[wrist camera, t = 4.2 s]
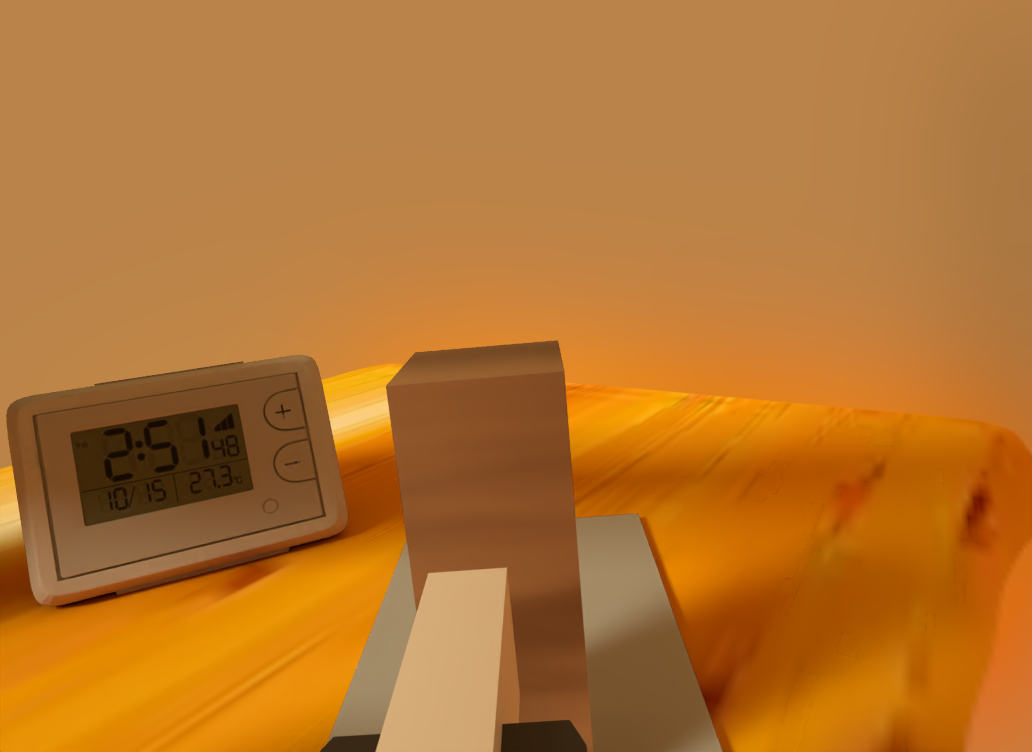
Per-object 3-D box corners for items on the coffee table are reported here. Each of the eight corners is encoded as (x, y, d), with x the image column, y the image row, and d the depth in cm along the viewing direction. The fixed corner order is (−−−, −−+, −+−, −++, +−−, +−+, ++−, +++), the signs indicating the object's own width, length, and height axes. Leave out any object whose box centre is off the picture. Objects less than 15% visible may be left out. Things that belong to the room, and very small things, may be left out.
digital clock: (17, 625, 35) (-39, 418, 32) (84, 546, 43) (43, 379, 41) (350, 563, 38) (321, 372, 36) (351, 502, 46) (327, 345, 44)
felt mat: (762, 876, 18) (762, 864, 18) (272, 901, 19) (270, 889, 19) (638, 519, 40) (638, 513, 40) (411, 536, 40) (410, 530, 40)
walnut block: (597, 807, 20) (564, 371, 17) (443, 816, 20) (385, 385, 18) (586, 702, 25) (557, 340, 22) (459, 710, 25) (414, 352, 22)
